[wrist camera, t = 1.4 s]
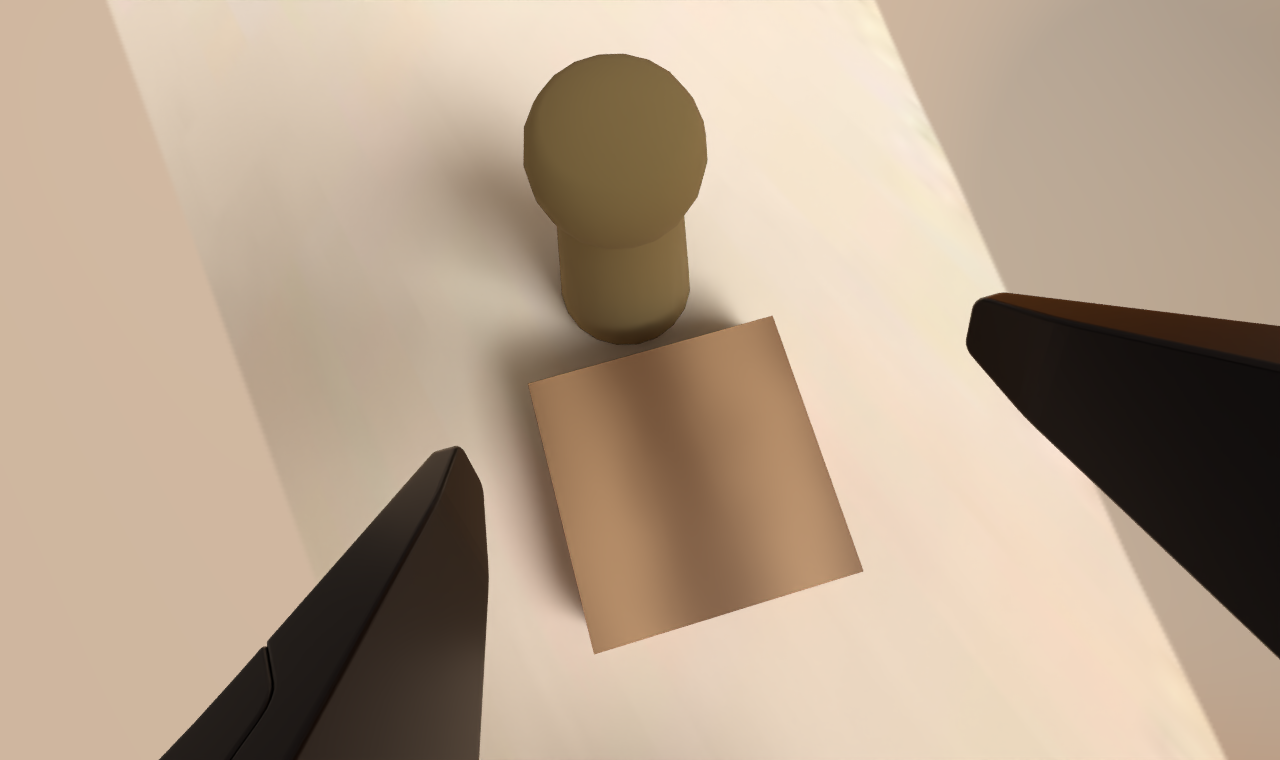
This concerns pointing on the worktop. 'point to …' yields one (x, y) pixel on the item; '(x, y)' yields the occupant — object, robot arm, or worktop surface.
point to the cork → (618, 190)
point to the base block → (689, 483)
